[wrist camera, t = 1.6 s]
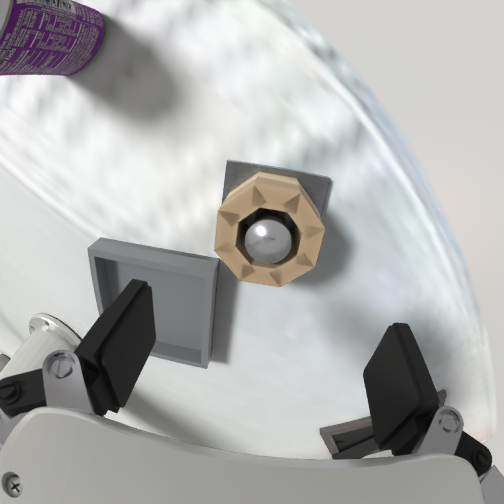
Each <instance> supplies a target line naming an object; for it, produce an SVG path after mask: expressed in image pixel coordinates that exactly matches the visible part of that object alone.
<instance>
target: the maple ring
mask: <svg viewBox="0 0 504 504" xmlns="http://www.w3.org/2000/svg"><path fill="white" fill-rule="evenodd" d="M260 207H261V208H267V209H273V210H278V211H284V212H288V214H289V215H290V216H291V218H292V219H293V221H294V222H295V223H296V224H295V229H294V232H292V233H291V249H290V251H289V253H288V254H287V256H286V257H285V258H284V259H282V260H280V261H278V262H276V263H270V264H267V263H261V262H259V261H256V260H255V259H253V258H252V257H251V256H250V255H249V253H248V252H247V250H246V247H245V236H246V233H247V230H248V228H247V227H246V226H245V225H244V223H243V220H244V218H245V217H247V216H248V215H250V214H251V213H253V212H254V211H256V210H257V209H258V208H260ZM324 231H325V227H324V225H323V222H322V219H321V217H320V214H319V212H318V209H317V207H316V206H315V204H314V203H313V201H312V200H311V198H310V197H309V195H308V194H307V193H306V191H305V190H304V188H303V187H302V185H301V184H300V182H299V181H298V180H297V178H293V177H288V176H282V175H276V174H270V173H264V172H258V173H256V174H255V175H253V176H252V177H251V178H249V179H248V180H246V181H245V182H244V183H242V184H241V185H240V186H238V187H237V188H235V189H234V190H233V191H231V192H230V193H229V194H228V196H227V197H226V199H225V200H224V202H223V204H222V205H221V207H220V208H219V210H218V216H217V226H216V236H215V247H214V251H215V252H216V253H217V254H218V256H219V257H220V258H221V259H222V260H223V261H224V263H225V264H226V265H227V266H228V267H229V268H230V270H231V271H232V272H233V273H234V274H235V275H236V277H237V278H238V279H239V280H240V281H245V282H251V283H257V284H263V285H269V286H275V287H282V286H283V285H285V284H287V283H289V282H290V281H292V280H294V279H296V278H297V277H299V276H301V275H303V274H304V273H306V272H308V271H309V270H311V269H313V268H315V265H316V261H317V258H318V254H319V250H320V247H321V243H322V239H323V235H324Z"/></svg>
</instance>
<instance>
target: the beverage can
mask: <svg viewBox="0 0 504 504" xmlns="http://www.w3.org/2000/svg"><path fill="white" fill-rule="evenodd" d="M103 35H104V20H103V17H102V15H101V14H100V13H99V12H98V11H97V10H95V9H92V8H90V7H87V6H85V5H82V4H80V3H77V2H74V1H71V0H0V75H62V76H66V75H71V74H74V73H76V72H78V71H79V70H81V69H82V68H83V67H84V66H86V65H87V64H88V63H89V61H90V60H91V59H92V58H93V56H94V55H95V53H96V52H97V50H98V48H99V46H100V44H101V42H102V39H103Z"/></svg>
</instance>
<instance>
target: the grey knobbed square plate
mask: <svg viewBox="0 0 504 504" xmlns="http://www.w3.org/2000/svg"><path fill="white" fill-rule="evenodd" d="M258 172H264V173H270V174H276V175H282V176H288V177H293V178H297V180H298V181H299V182H300V184H301V185H302V187H303V188H304V190H305V191H306V193H307V194H308V195H309V197H310V198H311V200H312V201H313V203H314V204H315V206H316V207H317V209H318V212H319V214H320V217H321V215H322V210H323V206H324V202H325V197H326V193H327V189H328V184H329V179H330V178H329V177H326V176H321V175H316V174H311V173H306V172H301V171H296V170H290V169H285V168H279V167H273V166H267V165H261V164H255V163H248V162H241V161H234V160H227V164H226V172H225V180H224V189H223V198H222V204H223V202H224V200H225V199H226V197H227V196H228V194H229V193H230V192H231V191H233V190H234V189H235V188H237V187H238V186H240V185H241V184H242V183H244V182H245V181H246V180H248V179H249V178H251V177H252V176H253V175H255V174H256V173H258ZM243 223H244V225H245V226H246V227H247V228H248V230H247V233H246V236H245V247H246V250H247V252H248V253H249V255H250V256H251V257H252V258H253V259H255V260H256V261H259V262H261V263H267V264H270V263H276V262H278V261H280V260H282V259H284V258H285V257H286V256H287V254H288V253H289V251H290V249H291V233H292V232H294V229H295V224H296V223H295V222H294V221H293V219H292V218H291V216H290V215H289V214H288V212H284V211H278V210H273V209H267V208H261V207H260V208H258V209H257V210H256V211H254V212H253V213H251V214H250V215H248V216H247V217H245V218H244V220H243Z"/></svg>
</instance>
